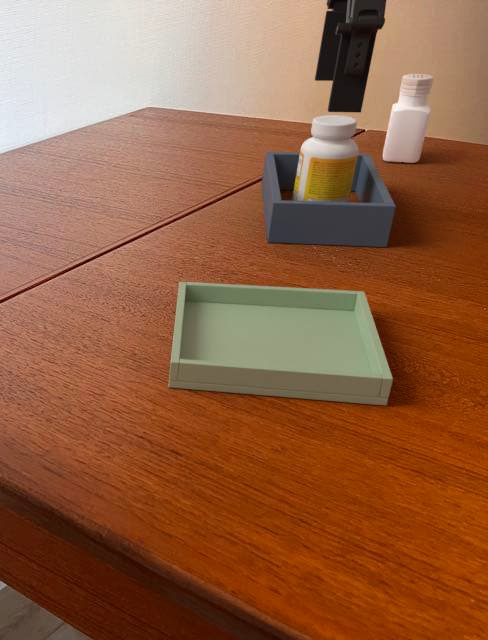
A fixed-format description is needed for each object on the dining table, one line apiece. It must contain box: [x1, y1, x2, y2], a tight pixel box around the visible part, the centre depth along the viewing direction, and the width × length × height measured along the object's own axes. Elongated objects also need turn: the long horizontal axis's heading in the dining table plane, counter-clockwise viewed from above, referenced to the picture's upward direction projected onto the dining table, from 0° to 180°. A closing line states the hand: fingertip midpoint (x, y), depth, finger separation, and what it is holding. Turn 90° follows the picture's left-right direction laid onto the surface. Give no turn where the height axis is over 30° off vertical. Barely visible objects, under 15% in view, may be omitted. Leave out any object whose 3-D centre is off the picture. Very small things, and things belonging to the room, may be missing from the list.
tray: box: [167, 281, 394, 407], centre depth 64 cm, size 14×14×2 cm
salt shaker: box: [382, 73, 434, 164], centre depth 101 cm, size 4×4×10 cm
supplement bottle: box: [291, 114, 360, 202], centre depth 86 cm, size 5×5×10 cm
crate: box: [260, 151, 397, 248], centre depth 88 cm, size 11×18×4 cm, turn 165°
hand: (336, 95), depth 83 cm, fingers open, 13 cm apart
